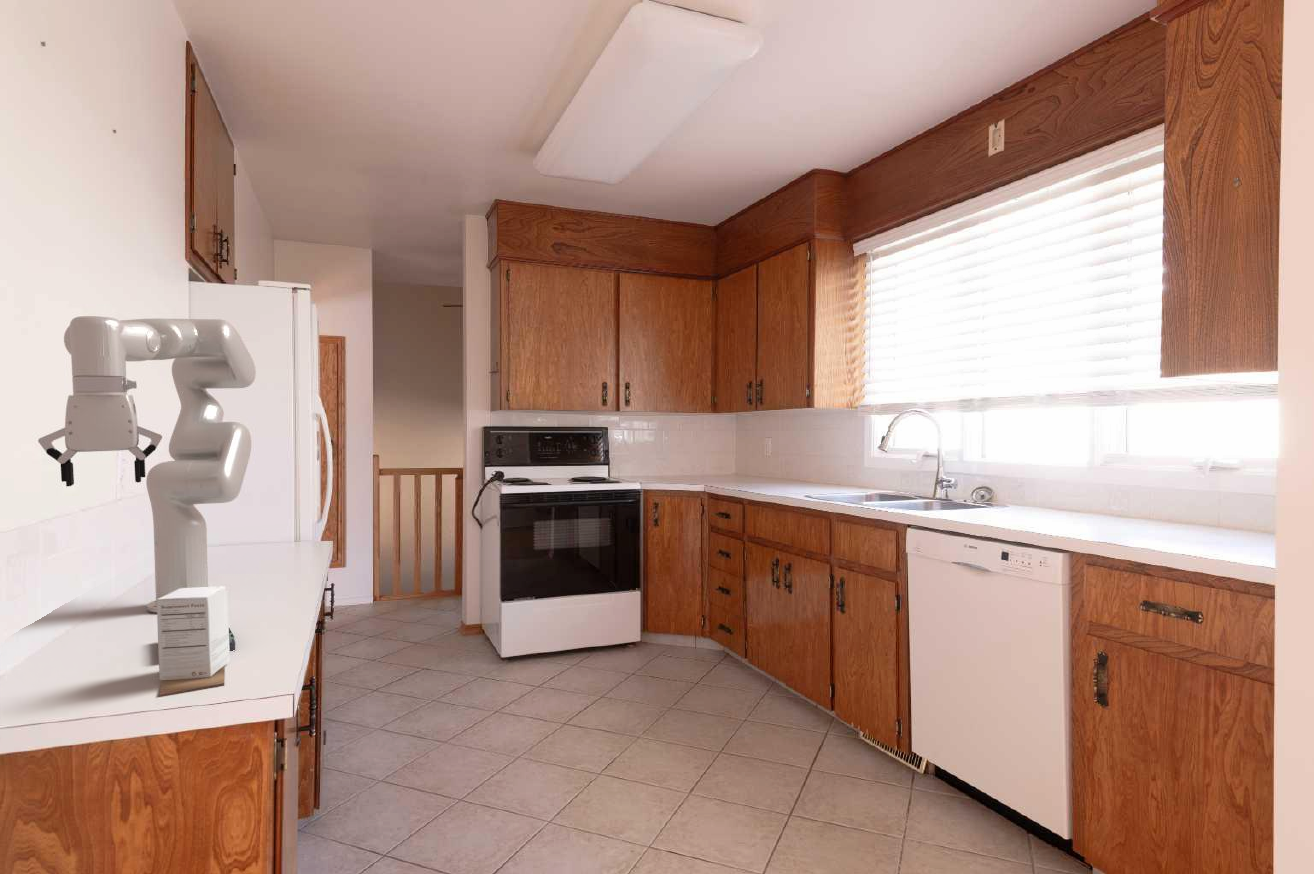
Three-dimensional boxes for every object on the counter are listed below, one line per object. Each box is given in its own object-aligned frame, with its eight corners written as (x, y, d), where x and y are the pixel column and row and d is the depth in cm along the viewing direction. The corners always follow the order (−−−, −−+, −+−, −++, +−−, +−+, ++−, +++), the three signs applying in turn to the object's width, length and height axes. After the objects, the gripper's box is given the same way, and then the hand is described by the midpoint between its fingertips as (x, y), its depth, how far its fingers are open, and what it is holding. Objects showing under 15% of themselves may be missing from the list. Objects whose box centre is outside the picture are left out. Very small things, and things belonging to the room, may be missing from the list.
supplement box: (181, 665, 114) (179, 587, 114) (231, 661, 115) (229, 584, 115) (157, 681, 107) (154, 598, 107) (210, 677, 108) (208, 595, 108)
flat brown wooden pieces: (177, 628, 137) (176, 626, 137) (225, 621, 141) (225, 619, 141) (159, 696, 102) (159, 694, 102) (224, 685, 106) (224, 683, 106)
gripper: (160, 388, 133) (164, 478, 134) (40, 387, 123) (45, 485, 124) (159, 387, 127) (163, 482, 127) (31, 386, 117) (37, 489, 118)
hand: (105, 483), depth 126 cm, fingers open, 9 cm apart
